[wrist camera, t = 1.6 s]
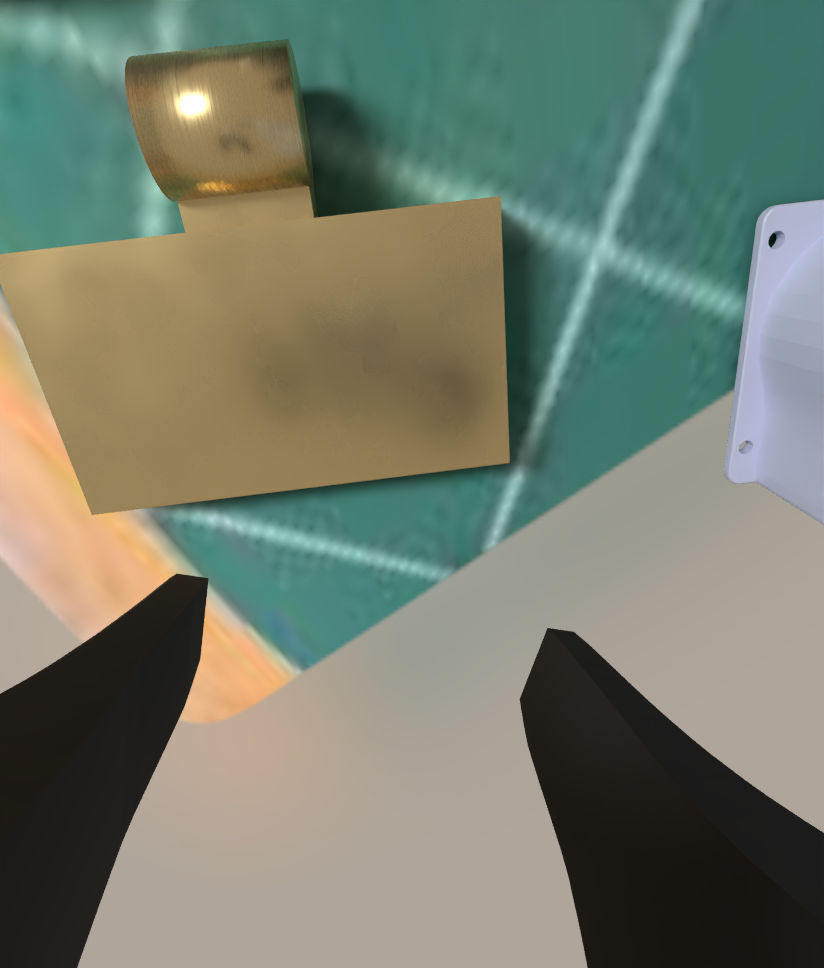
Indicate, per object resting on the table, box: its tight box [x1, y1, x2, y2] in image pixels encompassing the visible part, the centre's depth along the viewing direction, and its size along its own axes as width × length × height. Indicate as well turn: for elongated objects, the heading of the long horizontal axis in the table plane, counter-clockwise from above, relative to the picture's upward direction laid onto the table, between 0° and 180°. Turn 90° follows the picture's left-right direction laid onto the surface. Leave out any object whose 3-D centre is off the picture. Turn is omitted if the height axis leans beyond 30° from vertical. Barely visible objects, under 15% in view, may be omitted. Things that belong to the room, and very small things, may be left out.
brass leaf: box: [0, 39, 510, 515], centre depth 16 cm, size 12×14×3 cm
